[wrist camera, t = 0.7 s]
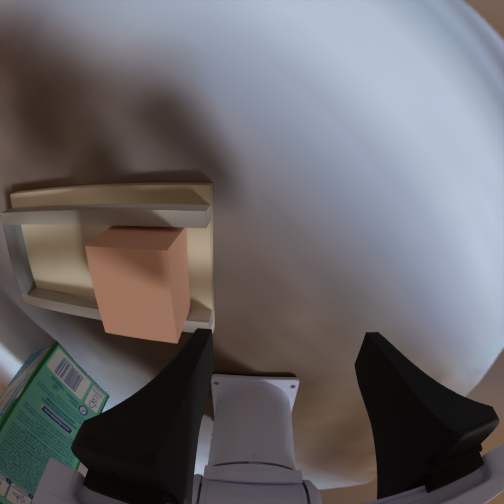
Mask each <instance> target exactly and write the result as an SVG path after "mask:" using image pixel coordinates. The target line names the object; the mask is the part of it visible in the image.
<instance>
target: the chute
mask: <svg viewBox="0 0 504 504" xmlns="http://www.w3.org/2000/svg"><path fill="white" fill-rule="evenodd" d="M10 196H11V204H12V208H11V209H8V210H6V211H4V212H2V213H1V217H2V222H3V228H4V233H5V238H6V242H7V247H8V251H9V255H10V259H11V263H12V266H13V270H14V273H15V277H16V280H17V283H18V286H19V289H20V292H21V295H22V298H23V301H24V303H25V304H29V305H33V306H37V307H41V308H45V309H49V310H53V311H58V312H63V313H67V314H72V315H77V316H82V317H87V318H92V319H98V320H102V319H101V315H100V311H99V308H98V304H97V300H96V296H95V292H94V288H93V284H92V279H91V275H90V270H89V265H88V260H87V255H86V249H85V246H86V245H87V244H88V243H90V242H91V241H92V240H94V239H95V238H96V237H98V236H99V235H100V234H102V233H103V232H105V231H106V230H107V229H109V228H110V227H112V226H113V225H118V226H155V227H184V228H186V233H187V256H188V274H189V289H190V302H191V308H190V310H189V313H188V316H187V318H186V321H185V324H184V327H183V330H182V332H192V333H194V331H195V330H196V329H197V328H204V329H212V334H213V332H214V327H215V317H214V278H213V183H202V182H151V183H116V184H96V185H80V186H67V187H55V188H44V189H35V190H26V191H18V192H15V193H12V194H10Z"/></svg>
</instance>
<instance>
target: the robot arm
mask: <svg viewBox="0 0 504 504" xmlns="http://www.w3.org/2000/svg"><path fill="white" fill-rule="evenodd" d="M213 365H214V358H213V339H212V329H204V328H197V329H196V330H195V331H194V333H193V334H192V336H191V337H190V339H189V340H188V341H187V343H186V344H185V345H184V346H183V348H182V349H181V350H180V351H179V352H178V354H177V355H176V356H175V357H174V358H173V360H172V361H171V362H170V363H169V364H168V365H167V366H166V367H165V368H164V369H163V370H162V371H161V372H160V373H159V374H158V375H157V376H156V377H155V378H154V379H153V380H151V381H150V382H149V383H148V384H147V385H145V386H144V387H143V388H142V389H140V390H139V391H138V392H136V393H135V394H134V395H132V396H131V397H129V398H128V399H126V400H125V401H123V402H121V403H119V404H118V405H116V406H114V407H113V408H111V409H109V410H107V411H105V412H103V413H101V414H98V415H96V416H94V417H92V418H89V419H87V420H84V422H83V423H82V425H81V426H80V428H79V430H78V432H77V434H76V436H75V439H74V441H73V443H72V445H71V451H72V453H73V454H74V455H75V457H76V458H77V459H78V460H79V461H80V462H81V463H82V464H83V465H84V466H85V467H87V468H88V472H87V474H86V477H84V476H83V475H82V474H81V473H80V472H78V471H77V470H75V469H73V468H71V467H69V466H67V465H65V464H63V463H61V462H59V461H57V460H54V459H53V458H50V459H49V461H48V464H47V466H46V468H45V470H44V473H43V475H42V477H41V480H40V482H39V485H38V487H37V490H36V492H35V495H34V497H33V500H32V504H322V501H321V496H320V493H319V491H318V489H317V488H316V487H315V486H314V485H313V484H312V482H311V481H309V480H302V471H301V470H295V458H294V444H293V432H292V419H291V412H292V408H293V404H294V401H295V397H296V393H297V389H298V386H299V379H298V378H296V377H260V376H240V375H225V374H213V375H212V373H213ZM355 370H356V376H357V381H358V385H359V388H360V391H361V394H362V397H363V400H364V403H365V406H366V409H367V413H368V416H369V419H370V422H371V426H372V431H373V437H374V443H375V451H376V461H377V486H378V487H377V500H374V501H370V502H365V503H361V504H486V503H487V502H488V501H490V500H492V499H493V498H494V497H496V496H497V495H499V494H500V493H502V492H503V491H504V444H503V443H502V444H501V445H499V446H497V447H496V448H494V449H492V450H490V451H489V452H488V453H486V454H485V455H484V456H482V457H481V455H480V453H479V452H481V451H482V446H481V443H482V442H483V441H484V440H485V439H486V438H487V437H488V436H489V435H490V434H491V433H492V432H493V430H494V429H495V428H496V427H497V425H498V423H499V418H498V416H497V414H496V412H495V411H494V409H493V407H491V406H488V405H485V404H482V403H479V402H476V401H473V400H471V399H468V398H466V397H464V396H461V395H459V394H457V393H455V392H454V391H452V390H450V389H448V388H446V387H445V386H443V385H441V384H440V383H438V382H437V381H435V380H434V379H432V378H431V377H429V376H428V375H427V374H425V373H424V372H423V371H422V370H420V369H419V368H418V367H417V366H415V365H414V364H413V363H412V362H411V361H409V360H408V359H407V358H406V357H405V356H404V355H403V354H402V353H401V352H400V351H398V350H397V349H396V348H395V347H394V346H393V345H392V344H391V343H390V342H389V341H388V340H387V339H385V338H384V337H383V336H382V335H381V334H380V333H378V332H367V333H366V334H365V337H364V340H363V343H362V346H361V349H360V351H359V354H358V357H357V359H356V362H355ZM210 385H211V386H212V398H213V408H214V424H213V431H212V438H211V445H210V452H209V460H208V465H206V466H205V469H204V476H202V475H200V474H195V475H194V470H195V460H196V452H197V444H198V436H199V429H200V424H201V420H202V416H203V412H204V409H205V405H206V401H207V397H208V393H209V389H210Z"/></svg>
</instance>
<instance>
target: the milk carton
mask: <svg viewBox="0 0 504 504" xmlns="http://www.w3.org/2000/svg"><path fill="white" fill-rule="evenodd" d="M108 398H109V396H108V395H107V394H106V393H105V392H104V391H103V390H102V389H101V388H100V387H99V386H98V385H97V384H96V383H95V382H94V381H93V380H92V379H91V378H90V377H89V376H88V375H87V374H86V373H85V372H84V371H83V370H82V369H81V368H80V367H79V366H78V365H77V364H76V363H75V362H74V361H73V359H72V358H71V357H70V356H69V355H68V354H67V353H66V352H65V351H64V349H63V348H62V347H61V346H60V345H59V344H58V342H57V343H55V344H53V345H51V346H49V347H47V348H45V349H43V350H41V351H39V352H37V353H35V354H34V355H32V356H30V357H29V358H28V359H27V360H26V362H25V363H24V364H23V366H22V367H21V368H20V370H19V371H18V372H17V374H16V375H15V376H14V378H13V379H12V381H11V382H10V383H9V385H8V386H7V388H6V389H5V390H4V392H3V393H2V395H1V396H0V504H32V500H33V497H34V495H35V492H36V490H37V487H38V485H39V482H40V480H41V477H42V475H43V473H44V470H45V468H46V466H47V464H48V461H49V459H50V458H53V459H54V460H57V461H59V462H61V463H63V464H65V465H67V466H69V467H71V468H73V469H75V470H78V467H79V465H80V461H79V460H78V459H77V458H76V457H75V455H74V454H73V453H72V451H71V445H72V443H73V441H74V439H75V436H76V434H77V432H78V430H79V428H80V426H81V425H82V423H83V422H84V420H87V419H89V418H92V417H94V416H96V415H98V414H101V413H102V411H103V409H104V406H105V404H106V402H107V400H108Z"/></svg>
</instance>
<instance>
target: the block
mask: <svg viewBox="0 0 504 504" xmlns="http://www.w3.org/2000/svg"><path fill="white" fill-rule="evenodd" d="M85 249H86V255H87V260H88V265H89V270H90V275H91V279H92V284H93V288H94V292H95V296H96V300H97V304H98V308H99V311H100V315H101V319H102V322H103V325H104V329H105V332H106V333H111V334H117V335H122V336H128V337H135V338H141V339H148V340H155V341H162V342H170V343H178V341H179V338H180V335H181V332H182V330H183V327H184V324H185V321H186V318H187V316H188V313H189V310H190V308H191V302H190V289H189V274H188V256H187V233H186V228H184V227H155V226H118V225H113V226H112V227H110V228H109V229H107V230H106V231H105V232H103V233H102V234H100V235H99V236H98V237H96V238H95V239H94V240H92V241H91V242H90V243H88V244H87V245H86V246H85Z"/></svg>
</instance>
